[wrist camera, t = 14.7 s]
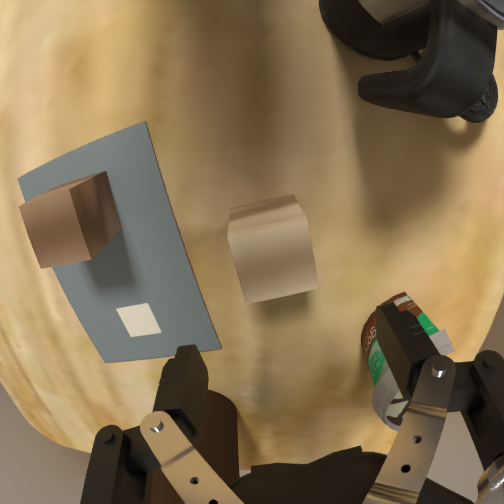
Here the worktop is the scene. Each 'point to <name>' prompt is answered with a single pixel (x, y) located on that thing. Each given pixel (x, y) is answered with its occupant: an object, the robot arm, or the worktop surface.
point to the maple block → (272, 249)
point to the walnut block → (71, 220)
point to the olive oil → (208, 448)
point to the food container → (386, 388)
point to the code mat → (130, 256)
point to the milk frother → (425, 52)
